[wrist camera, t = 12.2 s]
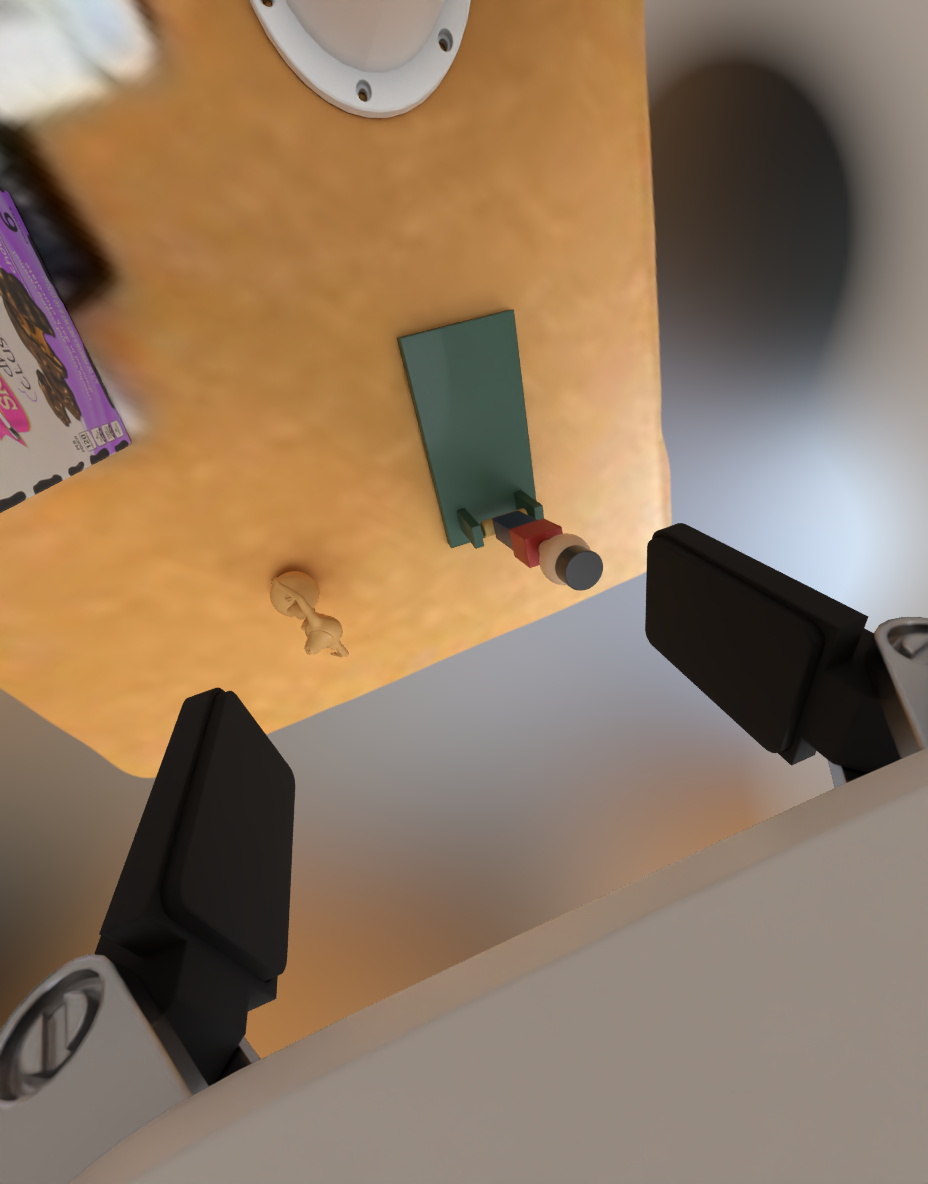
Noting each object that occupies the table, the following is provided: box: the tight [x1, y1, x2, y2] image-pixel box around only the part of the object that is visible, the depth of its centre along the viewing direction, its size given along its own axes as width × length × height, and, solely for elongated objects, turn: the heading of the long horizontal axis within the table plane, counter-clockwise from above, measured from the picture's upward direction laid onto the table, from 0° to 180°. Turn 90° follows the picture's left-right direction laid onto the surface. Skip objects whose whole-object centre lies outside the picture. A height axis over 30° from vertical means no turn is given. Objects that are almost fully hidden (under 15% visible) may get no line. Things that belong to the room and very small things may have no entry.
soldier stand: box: [397, 310, 544, 549], centre depth 35 cm, size 18×9×6 cm, turn 11°
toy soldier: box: [480, 508, 603, 590], centre depth 31 cm, size 14×4×3 cm
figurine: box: [270, 571, 349, 657], centre depth 34 cm, size 8×6×12 cm
